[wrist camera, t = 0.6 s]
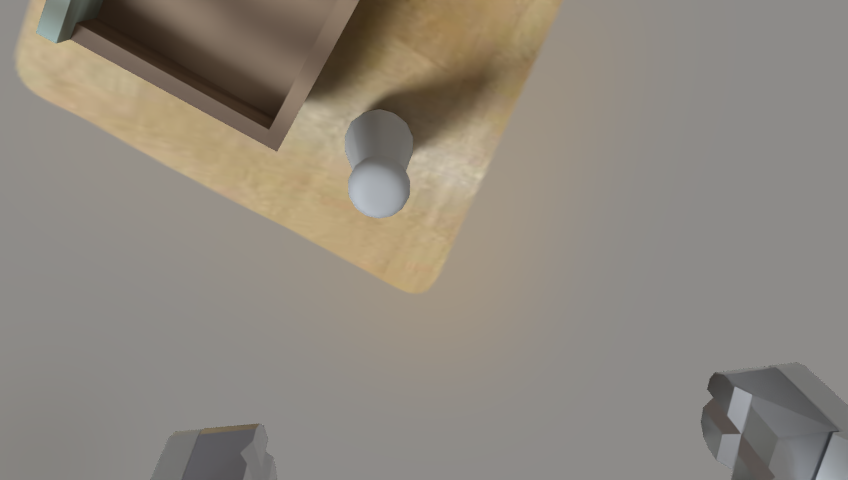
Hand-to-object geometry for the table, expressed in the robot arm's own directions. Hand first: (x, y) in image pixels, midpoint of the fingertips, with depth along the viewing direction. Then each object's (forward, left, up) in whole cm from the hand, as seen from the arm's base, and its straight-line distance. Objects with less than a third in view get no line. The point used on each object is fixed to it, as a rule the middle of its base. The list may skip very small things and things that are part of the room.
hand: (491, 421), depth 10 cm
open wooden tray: (+2, -13, -40) cm, 42 cm away
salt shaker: (+7, +2, -40) cm, 41 cm away
